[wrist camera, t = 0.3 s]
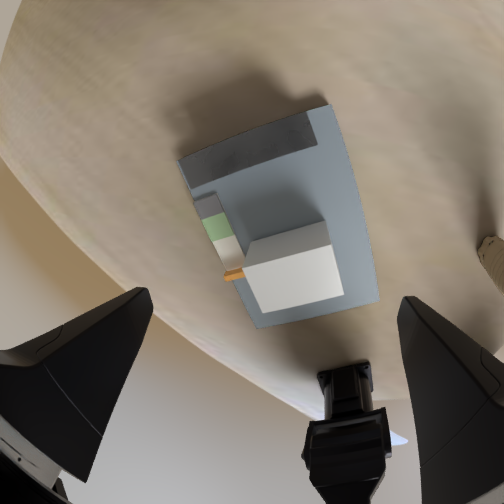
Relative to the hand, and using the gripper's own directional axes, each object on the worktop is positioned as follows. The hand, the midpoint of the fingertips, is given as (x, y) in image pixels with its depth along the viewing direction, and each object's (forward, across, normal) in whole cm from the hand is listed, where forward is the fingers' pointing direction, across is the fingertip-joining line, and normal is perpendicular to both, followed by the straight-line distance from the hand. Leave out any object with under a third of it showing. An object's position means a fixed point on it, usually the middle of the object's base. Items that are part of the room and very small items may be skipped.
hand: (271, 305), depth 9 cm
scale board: (+14, 0, +3) cm, 14 cm away
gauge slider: (+13, +1, +5) cm, 13 cm away
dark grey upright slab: (+12, +2, -4) cm, 13 cm away
